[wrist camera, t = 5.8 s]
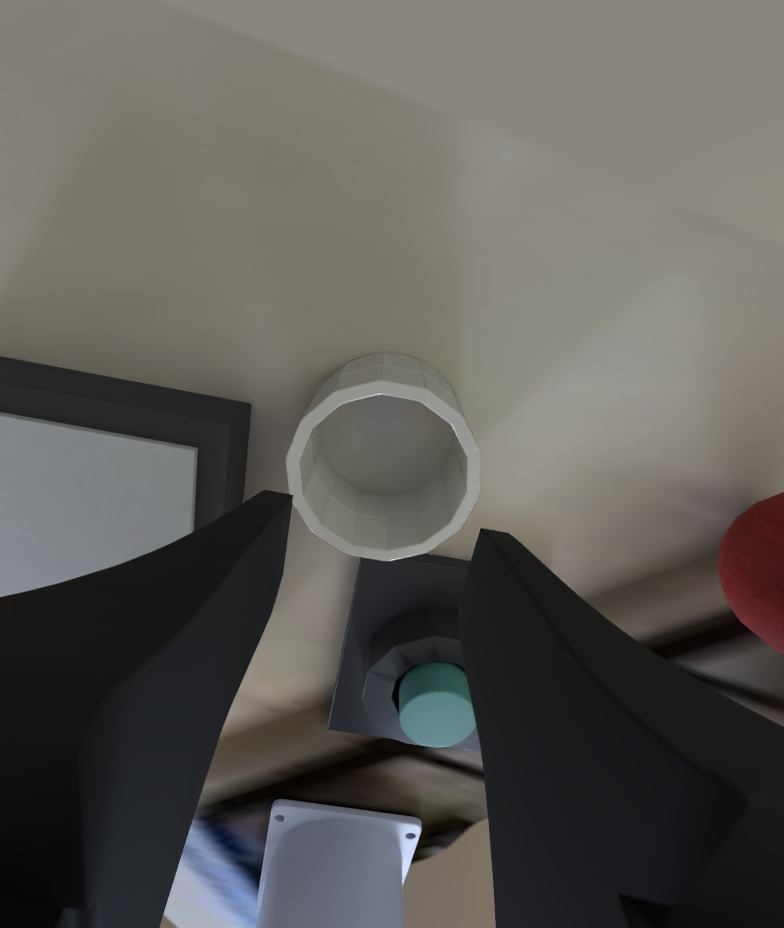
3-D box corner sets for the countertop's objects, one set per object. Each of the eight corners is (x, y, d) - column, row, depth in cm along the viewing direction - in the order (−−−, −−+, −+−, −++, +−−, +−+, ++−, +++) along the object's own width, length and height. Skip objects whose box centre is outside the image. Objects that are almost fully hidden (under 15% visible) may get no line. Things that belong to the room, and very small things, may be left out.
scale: (229, 654, 23) (208, 704, 20) (2, 618, 22) (-50, 666, 20) (252, 402, 18) (228, 427, 16) (-32, 349, 18) (-106, 365, 15)
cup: (444, 507, 20) (456, 573, 16) (301, 481, 20) (275, 543, 15) (480, 369, 18) (506, 403, 14) (321, 338, 17) (296, 363, 13)
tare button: (461, 719, 21) (466, 753, 20) (392, 709, 21) (392, 742, 20) (480, 666, 20) (486, 697, 19) (407, 655, 20) (407, 685, 19)
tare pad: (488, 740, 25) (498, 790, 22) (328, 717, 24) (321, 765, 22) (551, 574, 21) (570, 614, 19) (363, 542, 21) (359, 578, 18)
